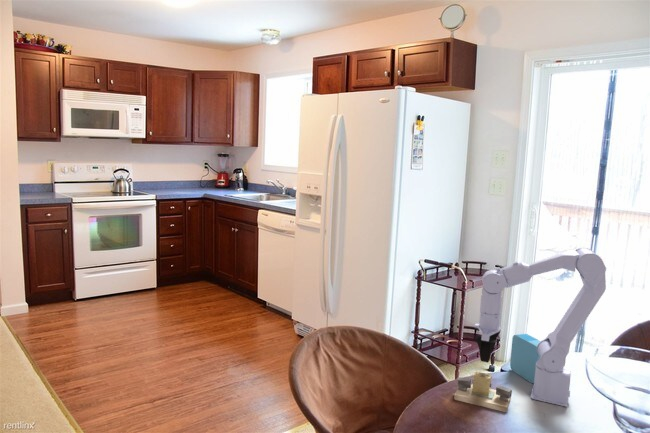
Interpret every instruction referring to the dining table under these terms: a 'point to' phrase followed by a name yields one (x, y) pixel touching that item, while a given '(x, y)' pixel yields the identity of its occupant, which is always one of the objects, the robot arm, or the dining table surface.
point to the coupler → (481, 383)
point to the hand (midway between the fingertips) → (486, 356)
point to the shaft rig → (495, 400)
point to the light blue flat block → (524, 356)
